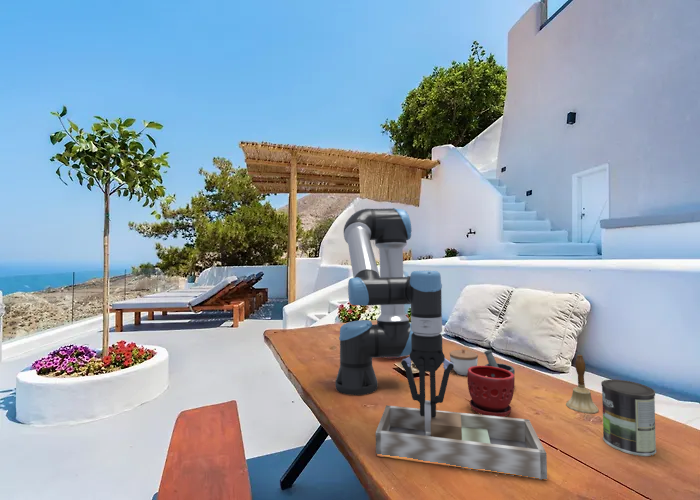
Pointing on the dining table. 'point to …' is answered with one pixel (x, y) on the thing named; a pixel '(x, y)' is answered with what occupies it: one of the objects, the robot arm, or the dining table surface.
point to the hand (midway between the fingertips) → (428, 429)
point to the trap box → (465, 442)
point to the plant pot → (490, 390)
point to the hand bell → (581, 391)
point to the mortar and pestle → (494, 364)
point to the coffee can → (629, 417)
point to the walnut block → (446, 426)
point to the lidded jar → (463, 360)
